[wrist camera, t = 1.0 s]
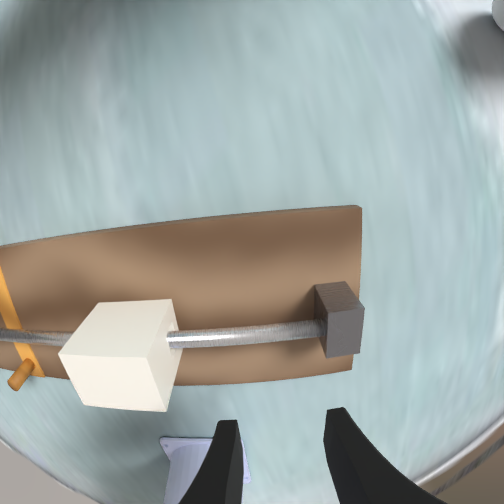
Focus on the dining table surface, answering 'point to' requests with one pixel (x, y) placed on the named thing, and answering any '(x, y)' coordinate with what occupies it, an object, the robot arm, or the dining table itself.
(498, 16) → the donut
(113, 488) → the dining table surface
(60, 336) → the metal rod
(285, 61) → the dining table surface
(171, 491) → the robot arm
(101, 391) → the sleeve
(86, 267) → the walnut board
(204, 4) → the dining table surface
